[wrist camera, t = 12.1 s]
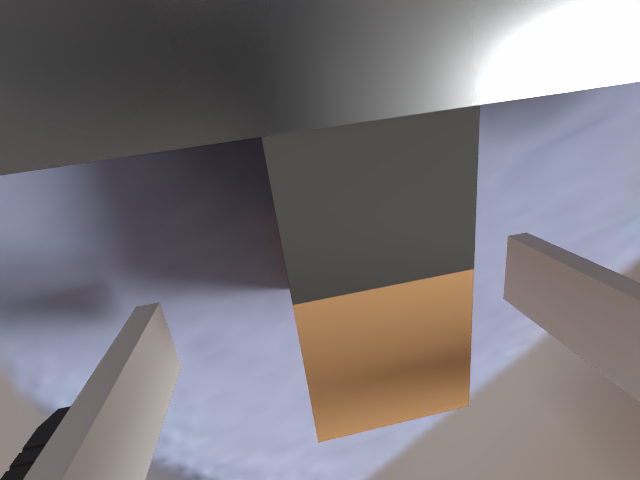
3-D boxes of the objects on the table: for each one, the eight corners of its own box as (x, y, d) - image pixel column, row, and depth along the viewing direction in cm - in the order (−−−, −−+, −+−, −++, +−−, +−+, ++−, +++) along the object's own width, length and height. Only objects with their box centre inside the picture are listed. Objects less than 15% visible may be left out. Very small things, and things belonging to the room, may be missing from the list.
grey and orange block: (235, -20, 12) (187, -257, 4) (350, -31, 12) (493, -267, 5) (292, 289, 16) (318, 442, 8) (374, 273, 16) (469, 406, 9)
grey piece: (109, 44, 12) (-984, -447, 1) (468, 4, 13) (1237, -406, 3) (138, 136, 13) (-367, 229, 2) (465, 89, 14) (1010, 26, 4)
